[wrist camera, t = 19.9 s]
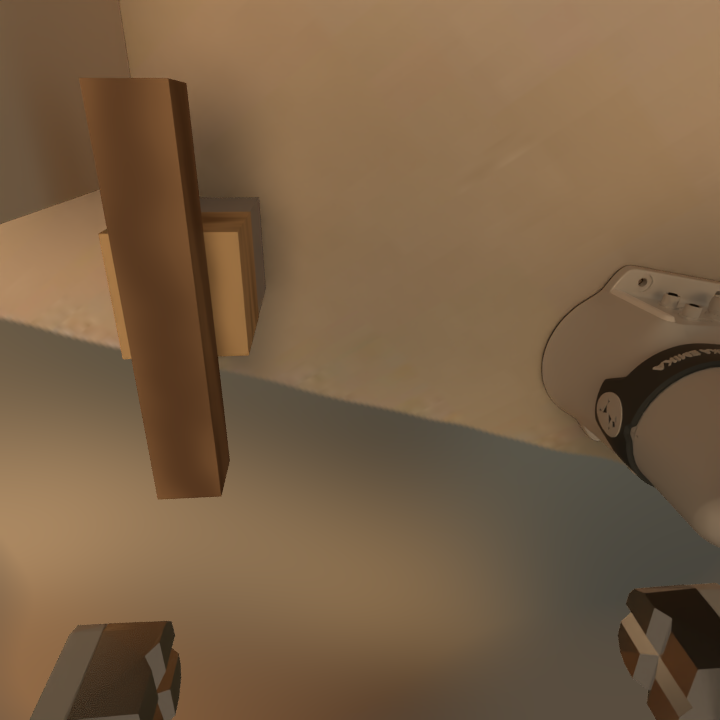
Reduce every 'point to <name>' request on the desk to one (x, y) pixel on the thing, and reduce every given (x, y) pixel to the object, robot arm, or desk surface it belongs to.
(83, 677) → the robot arm
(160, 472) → the walnut bar
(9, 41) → the tall beige box
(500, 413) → the desk surface
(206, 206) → the tower bottom
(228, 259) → the tower top
